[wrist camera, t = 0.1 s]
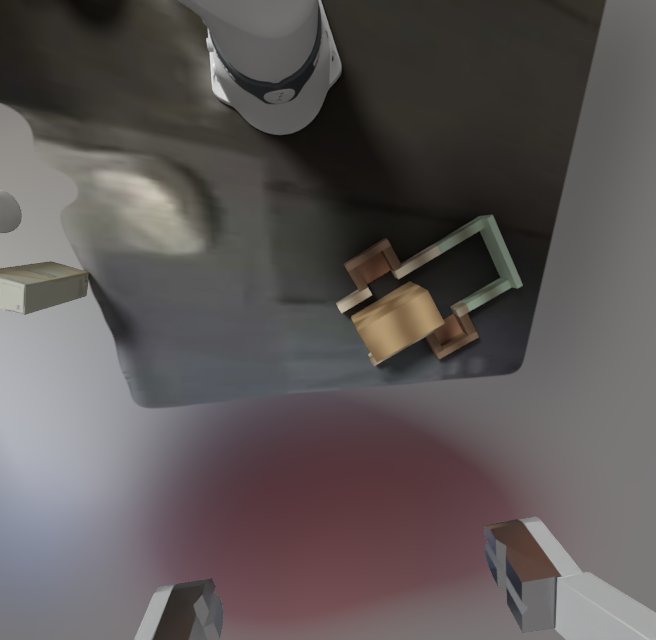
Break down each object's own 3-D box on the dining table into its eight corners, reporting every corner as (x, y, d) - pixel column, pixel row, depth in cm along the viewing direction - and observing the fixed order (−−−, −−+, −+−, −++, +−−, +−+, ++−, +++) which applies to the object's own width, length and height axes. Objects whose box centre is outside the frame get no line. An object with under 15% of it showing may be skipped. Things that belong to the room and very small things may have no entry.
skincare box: (90, 271, 53) (27, 284, 41) (87, 297, 54) (25, 316, 42) (49, 260, 52) (-27, 269, 40) (47, 286, 53) (-28, 303, 41)
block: (367, 342, 59) (376, 362, 50) (350, 316, 57) (357, 331, 49) (424, 309, 58) (445, 323, 49) (409, 280, 56) (427, 290, 48)
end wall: (503, 284, 57) (517, 288, 53) (474, 219, 54) (486, 218, 50) (508, 281, 57) (522, 285, 53) (479, 215, 54) (492, 214, 50)
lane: (384, 382, 61) (388, 388, 59) (320, 277, 55) (320, 279, 53) (514, 308, 59) (522, 312, 56) (461, 190, 52) (468, 188, 50)
